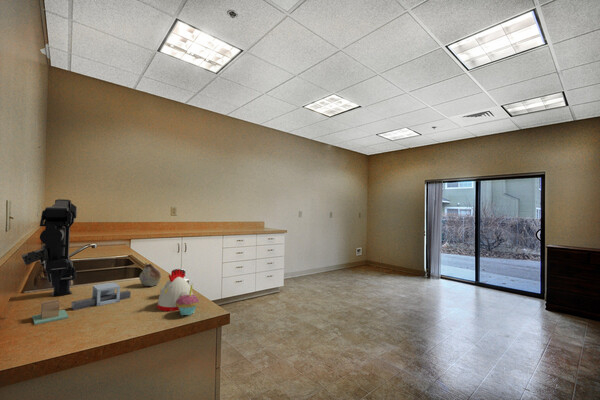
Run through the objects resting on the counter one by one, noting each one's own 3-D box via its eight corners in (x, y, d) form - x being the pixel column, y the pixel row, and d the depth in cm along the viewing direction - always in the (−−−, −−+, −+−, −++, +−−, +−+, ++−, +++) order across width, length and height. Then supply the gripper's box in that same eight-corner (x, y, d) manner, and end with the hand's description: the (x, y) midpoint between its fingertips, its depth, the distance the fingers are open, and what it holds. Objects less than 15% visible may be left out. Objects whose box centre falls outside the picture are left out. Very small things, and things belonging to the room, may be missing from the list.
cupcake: (203, 311, 112) (204, 281, 112) (187, 319, 104) (189, 286, 104) (185, 308, 114) (187, 279, 115) (169, 315, 106) (171, 284, 107)
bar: (71, 309, 110) (71, 301, 110) (127, 297, 127) (127, 290, 127) (73, 311, 108) (74, 303, 109) (130, 298, 125) (130, 291, 125)
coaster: (32, 317, 101) (32, 315, 101) (64, 311, 107) (64, 309, 107) (34, 325, 95) (34, 323, 95) (68, 317, 101) (68, 316, 101)
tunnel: (91, 300, 119) (92, 285, 119) (113, 296, 125) (114, 282, 125) (96, 306, 114) (97, 289, 114) (119, 301, 120) (120, 286, 120)
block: (40, 315, 101) (41, 301, 101) (57, 312, 104) (57, 299, 104) (41, 319, 98) (42, 305, 98) (58, 316, 101) (59, 302, 101)
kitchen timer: (149, 307, 114) (151, 270, 114) (176, 298, 127) (177, 265, 127) (175, 313, 109) (177, 275, 109) (200, 302, 121) (201, 268, 122)
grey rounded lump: (134, 287, 141) (135, 263, 141) (147, 282, 150) (148, 259, 151) (152, 288, 139) (154, 264, 140) (164, 283, 149) (165, 261, 149)
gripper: (22, 240, 102) (19, 283, 102) (26, 246, 90) (23, 295, 89) (61, 238, 110) (59, 278, 110) (70, 243, 98) (68, 288, 97)
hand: (52, 284), depth 101 cm, fingers open, 9 cm apart
